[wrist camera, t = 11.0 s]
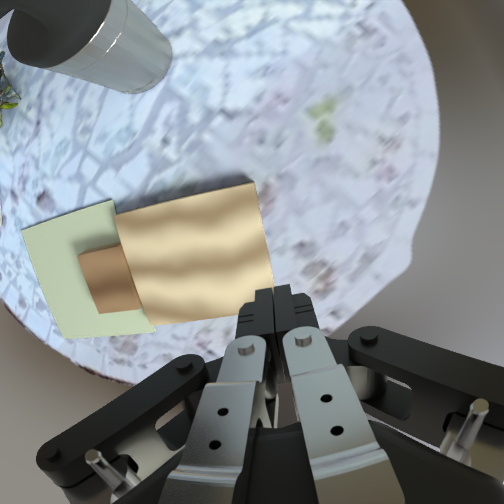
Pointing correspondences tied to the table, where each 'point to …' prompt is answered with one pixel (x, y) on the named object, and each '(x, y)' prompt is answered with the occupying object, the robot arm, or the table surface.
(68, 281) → the sage mat
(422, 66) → the table surface
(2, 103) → the passion flower
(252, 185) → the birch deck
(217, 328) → the table surface
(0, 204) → the photo printer
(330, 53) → the table surface
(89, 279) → the walnut slab
